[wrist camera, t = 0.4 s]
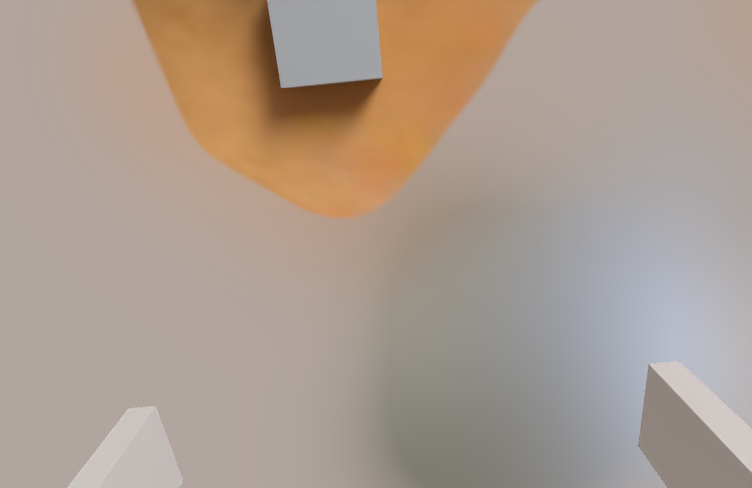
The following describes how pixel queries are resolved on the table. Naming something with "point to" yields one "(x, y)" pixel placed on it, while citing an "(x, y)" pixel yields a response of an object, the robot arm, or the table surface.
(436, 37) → the table surface
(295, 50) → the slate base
